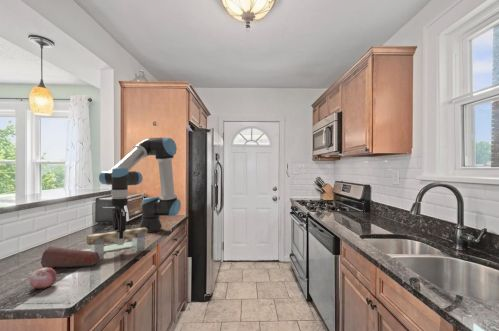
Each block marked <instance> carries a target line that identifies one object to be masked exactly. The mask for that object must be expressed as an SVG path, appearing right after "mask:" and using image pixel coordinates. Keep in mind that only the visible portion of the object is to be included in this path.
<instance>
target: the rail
mask: <svg viewBox="0 0 499 331" xmlns="http://www.w3.org/2000/svg"><path fill="white" fill-rule="evenodd" d="M141 232H145V237H148V232H147V228H145V227H143V228H139V227H138V228H131V229H126V231H124V239H123V241H124V240H132V238H137V233H141ZM100 238H104V244H105V243H111V242H113V243H114V241H117V231H115V230H114V231H108V232H100V233H93V234H86V245H89V246H90V245H94V239H100Z"/></svg>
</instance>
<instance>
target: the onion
mask: <svg viewBox="0 0 499 331" xmlns="http://www.w3.org/2000/svg"><path fill="white" fill-rule="evenodd" d="M57 278H58V275H57V272H56V270H55V268H48V267H46V268H43V267H42V268H39V269H37V270H35V271H34V272H33V273H32V274H31V276H30V279H29V284H30V286H31V287H32V288H33V289H37V290H40V291H42V290H41V289H43V290H44V289H48V288H50V287H51V286H52V285H54V284H55V282H56V281H57ZM49 286H50V287H49ZM47 287H48V288H47Z"/></svg>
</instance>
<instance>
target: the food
mask: <svg viewBox="0 0 499 331" xmlns="http://www.w3.org/2000/svg"><path fill="white" fill-rule="evenodd" d="M83 250H84V249H70V248H64V247H58V246H57V247H56V246H48V247H47V248H46V249H45V250H44V252H43V253H42V255H41V261H40V264H41V267H42V268H46V267H48V268H52V269H55V267H56V268H76V267H77V268H78V267H79V266H80V267H92V266H94V265H95V264H96V263H98V261H100V260H101V259H100V256H99V255H98V253H97V252H92V251H83ZM80 267H79V268H80Z"/></svg>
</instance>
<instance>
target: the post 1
mask: <svg viewBox="0 0 499 331" xmlns="http://www.w3.org/2000/svg"><path fill="white" fill-rule="evenodd" d="M104 246H105V243H104V238H100V239H94V245H89V247H90V248H89V249H90V251H92V252H97V253H98V255H99V256H100V259H99V260H103V259H104V257H105V256H104V253H105V252H104Z"/></svg>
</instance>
